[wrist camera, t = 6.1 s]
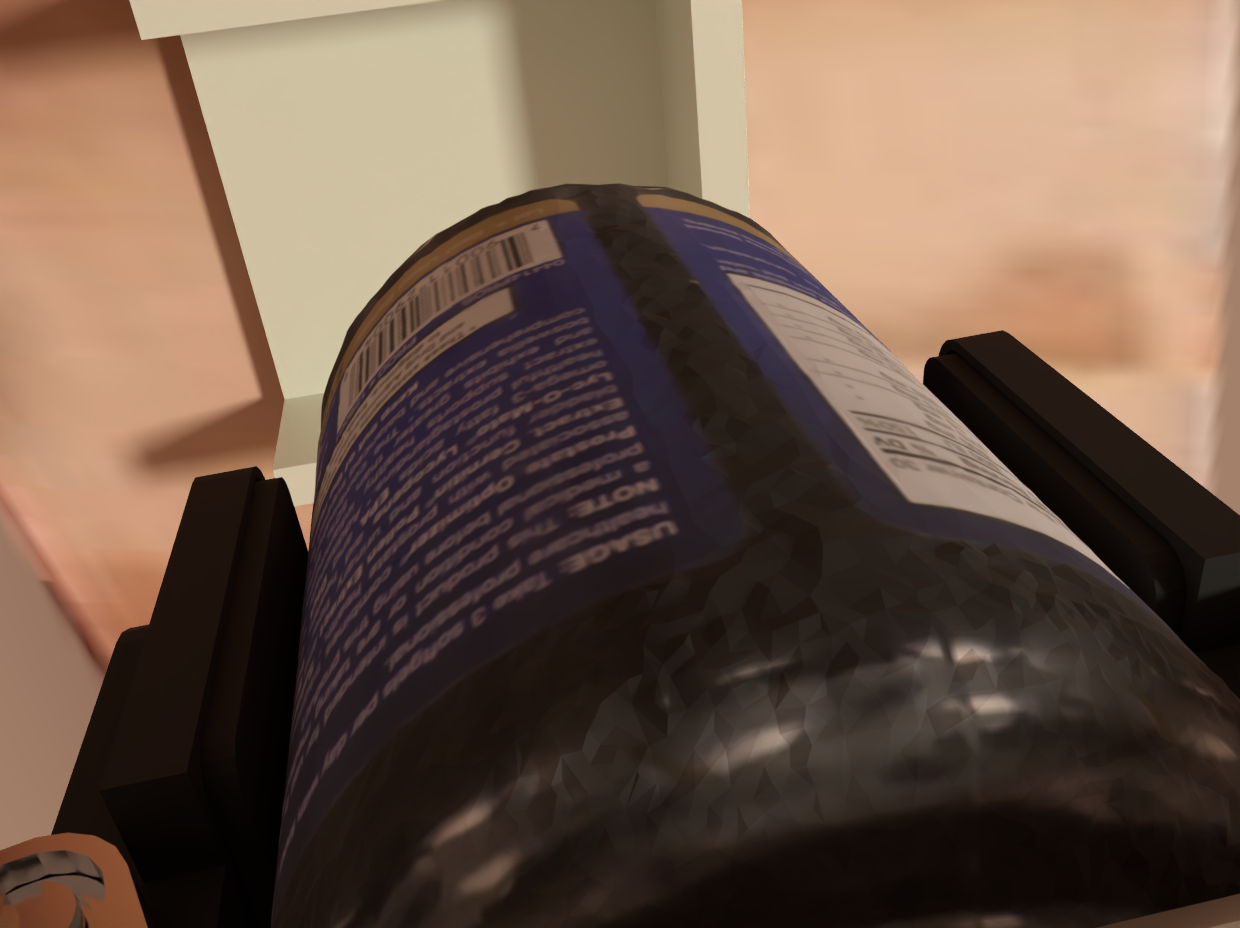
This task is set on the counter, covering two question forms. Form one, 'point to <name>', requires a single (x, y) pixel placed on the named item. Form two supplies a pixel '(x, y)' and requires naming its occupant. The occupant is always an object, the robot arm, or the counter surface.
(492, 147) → the holder
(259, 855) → the robot arm
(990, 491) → the pill bottle
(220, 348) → the counter surface
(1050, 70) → the counter surface
